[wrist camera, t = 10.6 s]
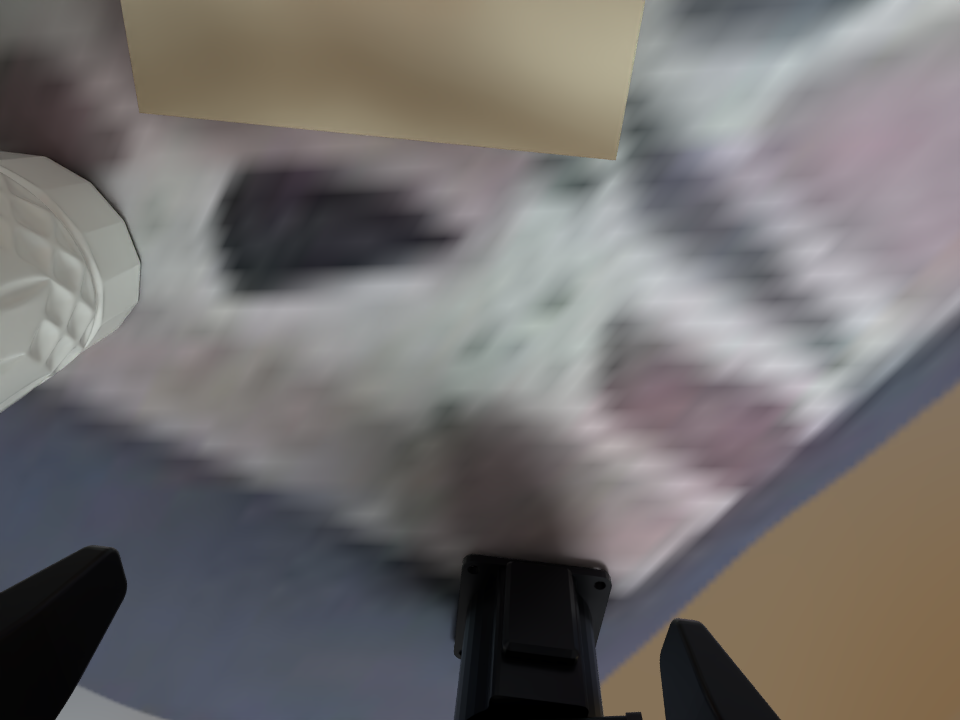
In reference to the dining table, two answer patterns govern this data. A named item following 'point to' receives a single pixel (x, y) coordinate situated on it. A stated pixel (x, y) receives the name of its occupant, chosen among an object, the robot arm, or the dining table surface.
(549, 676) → the robot arm
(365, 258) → the dining table surface
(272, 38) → the birch board
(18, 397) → the white cup
